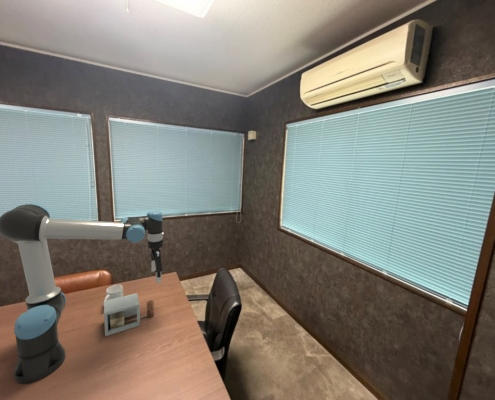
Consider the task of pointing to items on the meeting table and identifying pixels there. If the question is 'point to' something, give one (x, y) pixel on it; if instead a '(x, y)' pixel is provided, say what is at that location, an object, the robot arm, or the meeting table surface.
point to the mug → (114, 292)
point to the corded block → (118, 319)
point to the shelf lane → (122, 304)
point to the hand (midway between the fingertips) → (156, 276)
